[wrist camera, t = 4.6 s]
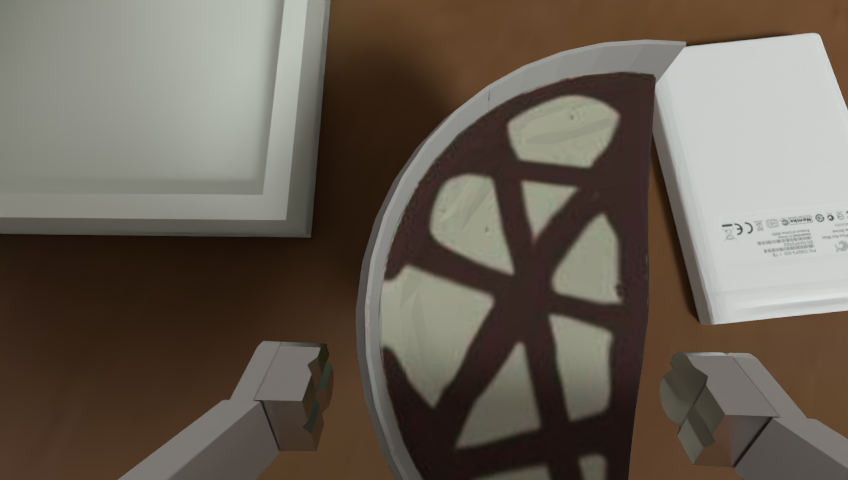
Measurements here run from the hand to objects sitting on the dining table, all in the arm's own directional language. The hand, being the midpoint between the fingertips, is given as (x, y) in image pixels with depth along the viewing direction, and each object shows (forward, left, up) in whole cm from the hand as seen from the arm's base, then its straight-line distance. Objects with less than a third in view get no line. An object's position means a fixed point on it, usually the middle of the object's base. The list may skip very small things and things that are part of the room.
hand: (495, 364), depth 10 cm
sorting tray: (-16, +17, -7) cm, 24 cm away
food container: (0, +2, -8) cm, 8 cm away
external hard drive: (+13, +8, -8) cm, 17 cm away
